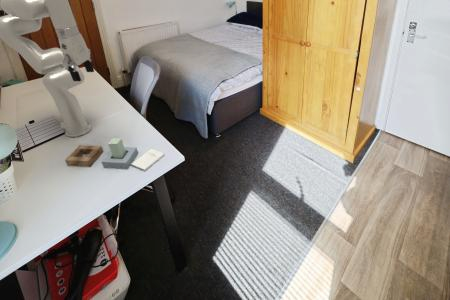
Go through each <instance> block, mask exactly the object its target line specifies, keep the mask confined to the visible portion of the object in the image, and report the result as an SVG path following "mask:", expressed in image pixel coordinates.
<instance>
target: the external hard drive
mask: <svg viewBox="0 0 450 300" xmlns="http://www.w3.org/2000/svg"><path fill="white" fill-rule="evenodd" d="M164 155H166V154H165V153H164V152H161V151H158V150H156V149H153V148H150V149H149V150H148V151H146V152H145V153H144V154H141V156H140V157H138V158H137V159H135V160H133V162H132V163H131V165H130V166H131V167H132V168H136V169H138V170H139V171H143V172H147V171H148V170H149V169H150V168H152V167H153V166H154V165H155V164H156V163H157V162H158V161H160V160H161V159H163V157H165V156H164ZM159 159H160V160H159ZM153 164H154V165H153Z"/></svg>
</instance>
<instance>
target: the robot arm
mask: <svg viewBox="0 0 450 300" xmlns="http://www.w3.org/2000/svg"><path fill="white" fill-rule="evenodd" d="M0 8H1V9H2V11H3V12H4V13H5V14H6V15H2V16H0V39H1V40H2V41H3V42H4V43H6V45H8V46H9V47H10V48H11V49H13V50H15V51H16V52H17V53H18V54H19V55H21V57H22V58H23V59H24V60H25V61H26V63H27V64H28V65H29V66H30V67H31V68H32V69H33V70H34V71H35V72H36V73H38V74H40V75H44V76H43V77H42V83H43V85H44V87H45V88H46V90H47V91H48V93H49V94H50V97H51V98H52V100H53V101H54V104H55V107H56V108H57V110H58V112H59V114H60V116H61V118H62V119H61V120H62V121H63V122H61V123H60V129H65V135H66V136H67V137H69V138H77V137H82V136H84V135H86V134H88V133H89V132H91V131H92V128H93V127H92V125H91V124H90V123H89V122H87V120H86V118H85V116H84V113H83V110H82V108H81V105H80V103H79V100H78V98H77V96H76V95H75V94H74V93H72V92H69V90H70V89H72V88H74V87H77V86H78V85H81V84H84V82H85V75H84V72H83V71H82V69H81V67H79V66H80V65H82V64H83V66H84V68H85V71H86V72H87V73H93V72H95V70H94V67H93V65H92V64H93V63H92V54H91V49H90V48H88V46H87V43H86V41H85V39H84V37H83V35H82V33H80V31H79V28H78V26H77V25H78V24H77V22H76V19H75V15H74V14H73V11H72V7H71V5H70V2H69V0H0ZM45 18H49V19H50V20H51V23H52V26H53V28H54V30H55V33H56V35H57V37H58V43H59V46H60V47H52V48H47V49H42V48H41V47H40V46H39V44H37V43H36V42H35V41H33V40H32V39H29V38H28V37H25V36H23V35H27V34H31V33H35V32H38V31H39V30H40V29H41V28H42V22H43V19H45Z"/></svg>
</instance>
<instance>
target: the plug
mask: <svg viewBox="0 0 450 300" xmlns="http://www.w3.org/2000/svg"><path fill="white" fill-rule="evenodd" d="M107 144H108V147H109V151H111V153H112V156H113V158H114V159H123V158H124V157H125V155H126V151H125V148H124V147H125V146H124V145H125V144H124V143H123V139H122V138H116V137H115V138H114V137H113V138H111V139H110V141H109V142H108V143H107Z"/></svg>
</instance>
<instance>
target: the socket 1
mask: <svg viewBox="0 0 450 300" xmlns="http://www.w3.org/2000/svg"><path fill="white" fill-rule="evenodd" d="M103 153H104V149H103V147H102V145H83V144H82V145H80V144H79V145H78V146H77V147H76V148H75V149H74V150H73V151H72V152H71V153H70V154H69V155H68V156H67V157H66V158H65V163H66V165H67V167H68V166H69V167H70V166H71V167H88V168H89V167H92V166H93V165H94V163H95V162H96V161H97V160H98V159H99V157H100V156H101V155H102V154H103ZM83 155H87V156H84V157H83Z"/></svg>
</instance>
